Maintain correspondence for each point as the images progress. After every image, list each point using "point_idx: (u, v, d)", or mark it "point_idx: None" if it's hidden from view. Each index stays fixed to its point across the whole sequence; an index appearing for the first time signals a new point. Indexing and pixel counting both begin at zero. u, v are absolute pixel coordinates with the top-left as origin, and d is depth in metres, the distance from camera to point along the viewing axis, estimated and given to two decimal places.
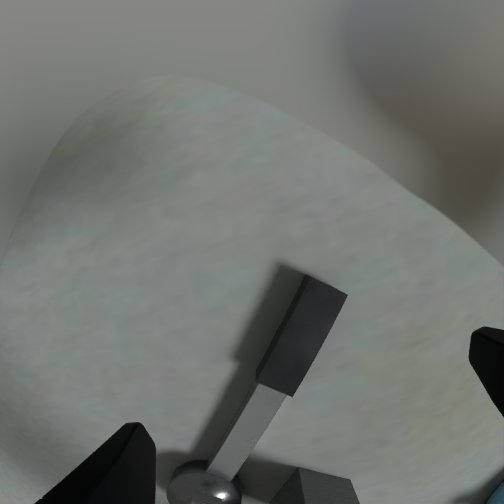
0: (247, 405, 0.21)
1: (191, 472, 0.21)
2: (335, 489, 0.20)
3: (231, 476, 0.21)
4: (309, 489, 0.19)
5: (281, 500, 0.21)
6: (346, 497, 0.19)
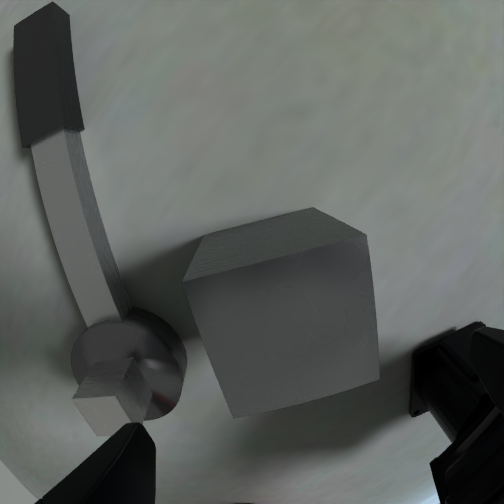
0: (39, 184, 0.13)
1: None
2: (276, 224, 0.14)
3: (113, 309, 0.15)
4: (212, 245, 0.13)
5: None
6: (301, 223, 0.13)
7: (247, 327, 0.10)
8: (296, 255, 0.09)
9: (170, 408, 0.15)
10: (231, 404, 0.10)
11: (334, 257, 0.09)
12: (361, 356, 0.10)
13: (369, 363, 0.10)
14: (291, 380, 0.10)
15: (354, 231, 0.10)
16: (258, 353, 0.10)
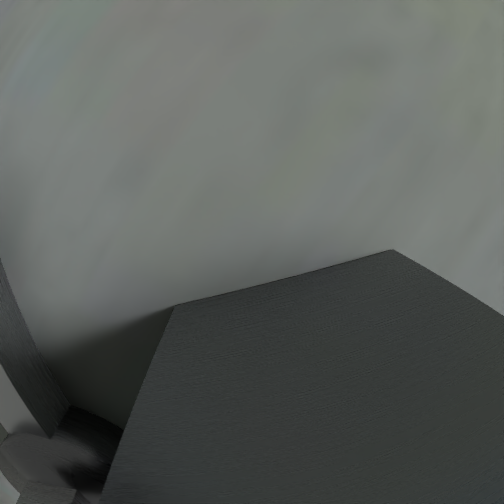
0: None
1: None
2: (337, 307, 0.05)
3: (33, 422, 0.06)
4: (181, 370, 0.05)
5: None
6: (406, 313, 0.05)
7: None
8: None
9: None
10: None
11: None
12: None
13: None
14: None
15: None
16: None
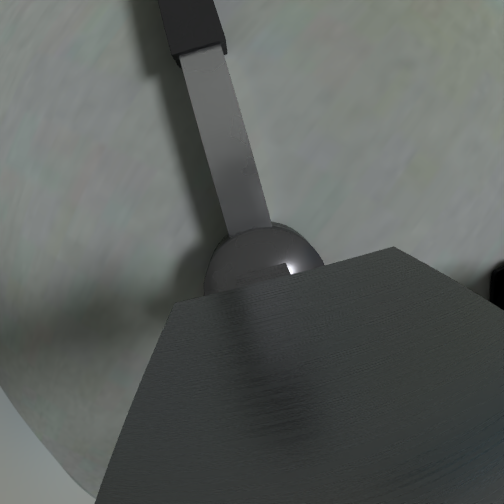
0: (189, 90, 0.14)
1: (214, 254, 0.16)
2: (337, 303, 0.05)
3: (265, 214, 0.16)
4: (181, 366, 0.05)
5: None
6: (407, 309, 0.05)
7: None
8: None
9: None
10: None
11: None
12: None
13: None
14: None
15: None
16: None
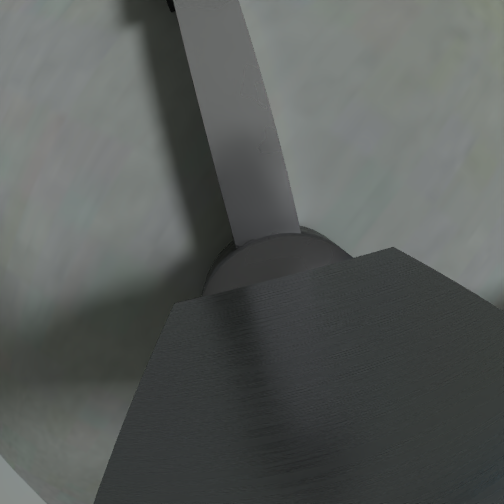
0: (182, 31, 0.09)
1: (212, 273, 0.11)
2: (337, 304, 0.05)
3: (291, 213, 0.10)
4: (180, 367, 0.05)
5: None
6: (406, 310, 0.05)
7: None
8: None
9: None
10: None
11: None
12: None
13: None
14: None
15: None
16: None
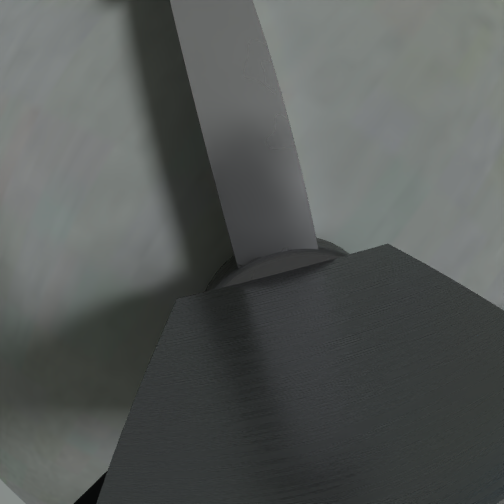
0: (172, 3, 0.06)
1: None
2: (332, 297, 0.06)
3: (306, 224, 0.08)
4: (184, 356, 0.05)
5: None
6: (398, 302, 0.05)
7: None
8: None
9: None
10: None
11: None
12: None
13: None
14: None
15: None
16: None
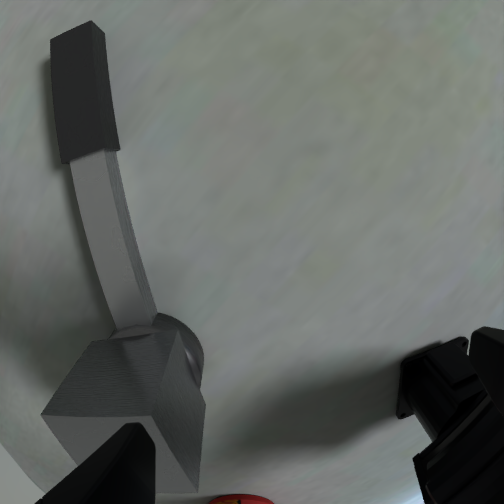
0: (78, 199, 0.15)
1: None
2: (131, 354, 0.14)
3: (144, 315, 0.17)
4: (81, 367, 0.14)
5: None
6: (143, 362, 0.13)
7: (85, 446, 0.10)
8: (101, 418, 0.10)
9: None
10: None
11: None
12: (174, 478, 0.11)
13: (183, 483, 0.11)
14: None
15: (151, 404, 0.10)
16: None
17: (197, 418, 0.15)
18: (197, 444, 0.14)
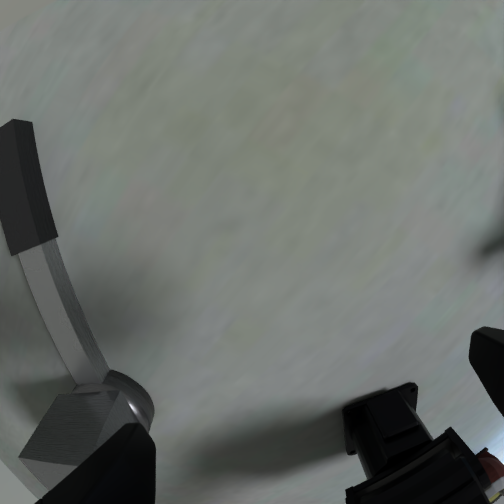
0: (29, 284, 0.16)
1: None
2: (83, 411, 0.16)
3: (94, 375, 0.18)
4: (48, 419, 0.15)
5: None
6: (89, 420, 0.15)
7: (52, 480, 0.12)
8: (56, 464, 0.11)
9: None
10: None
11: None
12: None
13: None
14: None
15: (87, 457, 0.12)
16: None
17: None
18: None
